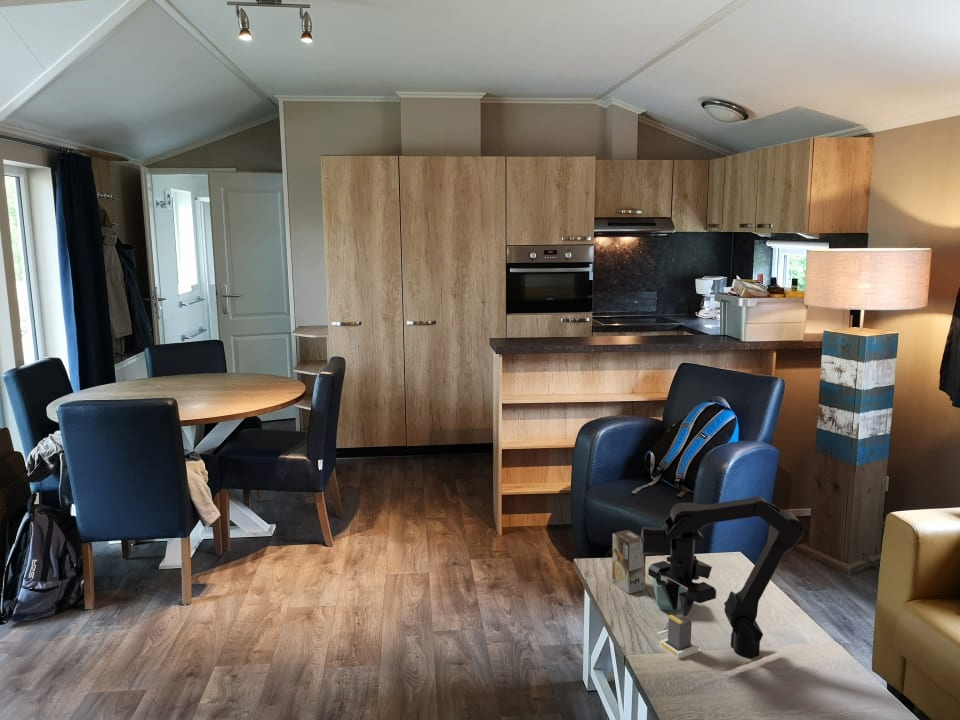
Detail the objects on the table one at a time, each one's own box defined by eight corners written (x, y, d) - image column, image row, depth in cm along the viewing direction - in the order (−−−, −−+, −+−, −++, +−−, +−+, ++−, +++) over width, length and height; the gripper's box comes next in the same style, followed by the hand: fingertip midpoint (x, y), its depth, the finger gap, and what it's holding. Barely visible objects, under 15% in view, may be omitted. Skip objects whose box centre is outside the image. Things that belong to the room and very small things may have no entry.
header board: (707, 652, 195) (707, 643, 195) (674, 664, 190) (675, 654, 190) (672, 630, 207) (672, 621, 206) (640, 640, 201) (640, 631, 201)
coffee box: (646, 590, 230) (647, 539, 227) (628, 594, 227) (629, 543, 225) (627, 578, 238) (629, 529, 235) (610, 582, 235) (611, 532, 233)
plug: (690, 650, 194) (691, 618, 193) (678, 654, 192) (679, 622, 191) (678, 642, 198) (679, 611, 196) (666, 646, 196) (668, 615, 194)
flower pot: (682, 602, 222) (683, 573, 221) (687, 617, 214) (688, 586, 212) (651, 601, 223) (652, 572, 222) (655, 615, 214) (656, 585, 213)
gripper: (733, 561, 187) (731, 621, 189) (680, 535, 203) (678, 590, 205) (700, 571, 181) (697, 632, 184) (647, 543, 198) (646, 600, 200)
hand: (679, 612), depth 193 cm, fingers open, 4 cm apart
